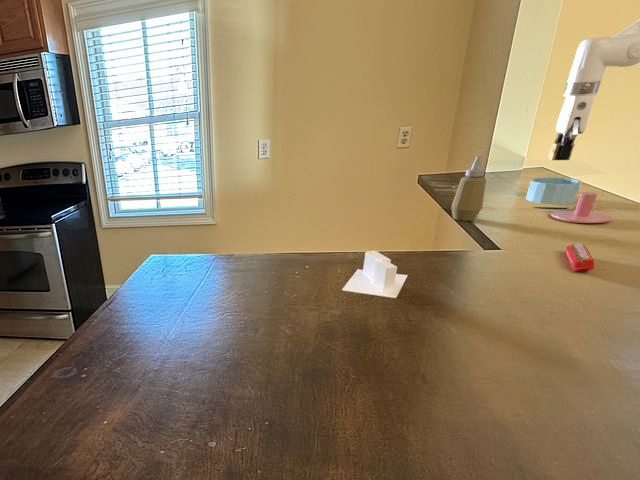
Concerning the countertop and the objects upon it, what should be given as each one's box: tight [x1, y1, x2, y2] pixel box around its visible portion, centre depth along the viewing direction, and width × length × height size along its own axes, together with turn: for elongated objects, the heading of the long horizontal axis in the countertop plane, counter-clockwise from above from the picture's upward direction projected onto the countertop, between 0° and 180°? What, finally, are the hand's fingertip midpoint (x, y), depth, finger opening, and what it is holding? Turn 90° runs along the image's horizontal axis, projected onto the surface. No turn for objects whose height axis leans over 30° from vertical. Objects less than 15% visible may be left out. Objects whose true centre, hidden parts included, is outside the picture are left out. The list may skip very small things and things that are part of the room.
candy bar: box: [565, 243, 595, 273], centre depth 109 cm, size 16×4×3 cm, turn 150°
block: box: [547, 142, 576, 161], centre depth 144 cm, size 4×4×4 cm
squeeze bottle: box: [451, 155, 487, 222], centre depth 143 cm, size 8×8×18 cm
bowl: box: [525, 176, 583, 210], centre depth 153 cm, size 13×13×8 cm
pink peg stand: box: [550, 191, 613, 224], centre depth 138 cm, size 14×14×7 cm
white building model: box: [341, 250, 409, 299], centre depth 106 cm, size 15×11×6 cm
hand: (558, 157), depth 145 cm, fingers closed on block, 4 cm apart
